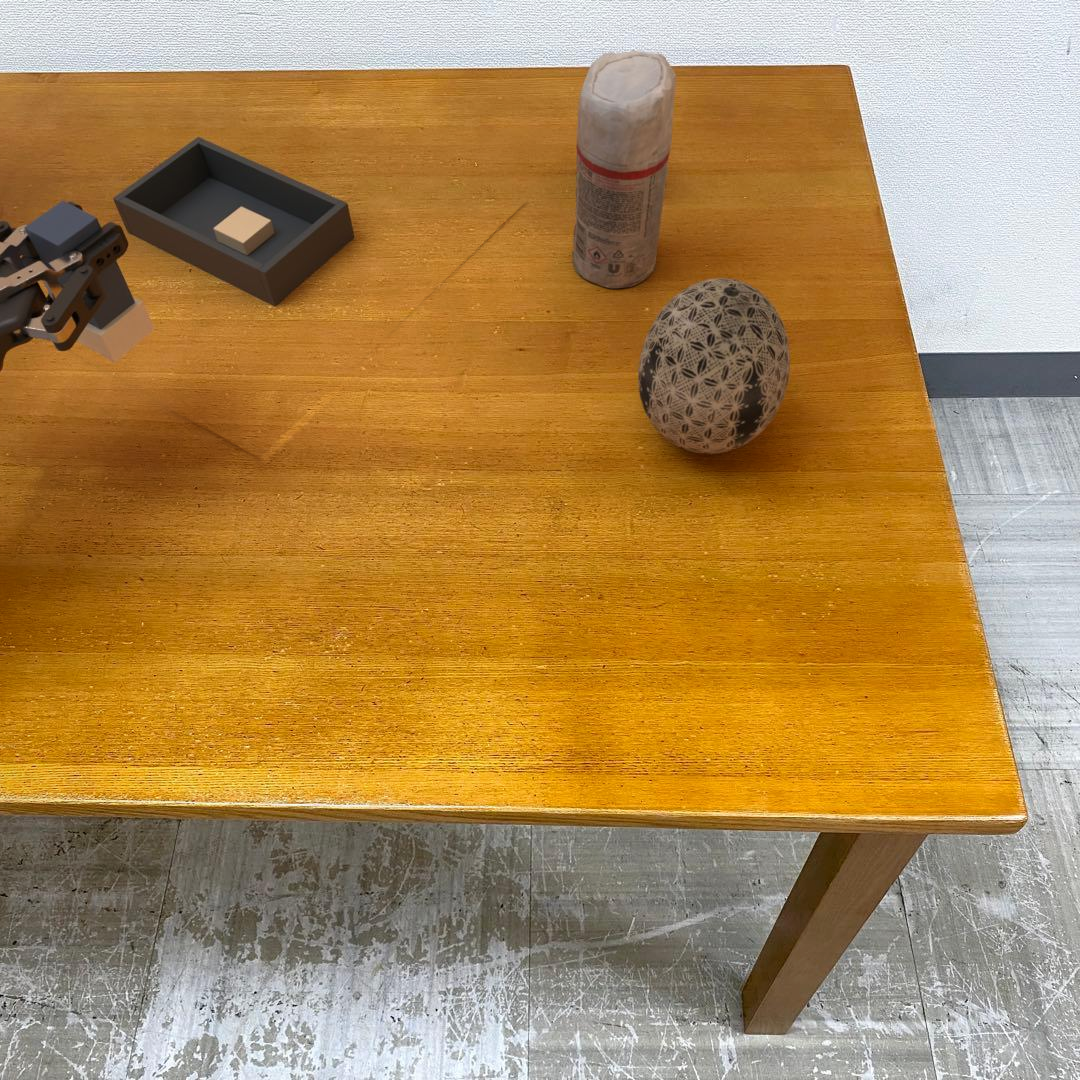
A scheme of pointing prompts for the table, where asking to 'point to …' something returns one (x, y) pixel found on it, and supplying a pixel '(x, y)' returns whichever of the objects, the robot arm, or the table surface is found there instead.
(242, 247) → the beige square block
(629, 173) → the spray can
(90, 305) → the robot arm
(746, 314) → the decorative egg
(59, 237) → the two-tone block stamp
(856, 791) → the table surface
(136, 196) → the bin
